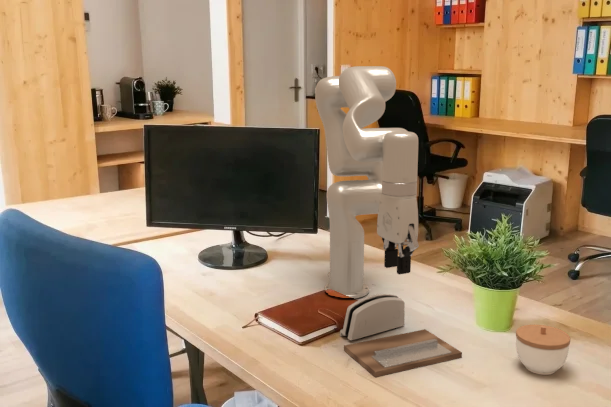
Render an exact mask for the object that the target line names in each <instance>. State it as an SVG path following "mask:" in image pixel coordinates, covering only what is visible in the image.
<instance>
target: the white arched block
mask: <svg viewBox="0 0 611 407" xmlns="http://www.w3.org/2000/svg"><path fill="white" fill-rule="evenodd" d="M405 309H406V308H405V301H404V300H403V299H402V298H400V297H398V296H397V295H394V294H391V293H377V294H372V295H368V296H364V297H362V298H360V299H359V300H357V301H354V302H353V303H351V304H350V305H348V306H347V309H346V313H345V317H344V321H343V322H344V323H343V326H342V327H343V328H341V329H340V331H339V337H346V336H347V339H348V340H350V341H354V340H359V339H361V338H364V337H369V336H372V335H375V334H379V333H383V332H385V331H390V330H392V329H393V330H394V329H395V328H396V329H397V328H401V327H404V326H405Z"/></svg>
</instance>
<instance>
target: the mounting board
mask: <svg viewBox="0 0 611 407" xmlns="http://www.w3.org/2000/svg"><path fill="white" fill-rule="evenodd" d="M431 339H436V340H438V344H440V345H441V346H443V347H445V348H446V349H448V350H449V351H451V354H447V355H443V356H439V357H434V358H430V359H425V360H421V361H416V362H412V363H407V364H403V365H398V366H394V367H390V368H383V367H382V366H381V365H380V364H378V363H377V362H376V361H375V360H373V359H372V358H371V356H374V351H379V350H384V349H389V348H393V347H398V346H403V345H408V344H412V343H417V342H422V341H427V340H431ZM343 351H344V352H345V353H347V355H349V356H350V357H351V358H352V359H354V360H355V361H356V362H357V363H358V364H359V365H360V366H361V367H363V369H365V370H366V371H367V372H368V373H370V374H371V376H373V377H374V378H378V377H383V376H387V375H392V374H395V373H401V372H404V371H409V370H413V369H418V368H421V367H426V366H430V365H436V364H439V363H445V362H449V361H452V360H457V359H462V356H463V352H462V351H460V350H459V349H457V348H456V347H454V346H452V345H451V344H449V343H448V342H446V341H444V340H443V339H441V338H439V336H436V335H435V334H433V333H432V332H430V331H429V330H427V329H425V328H424V329H419V330H415V331H409V332H405V333H400V334H394V335H389V336H385V337H380V338H376V339H375V338H374V339H370V340H365V341H360V342H354V343H349V344H346V345H343Z"/></svg>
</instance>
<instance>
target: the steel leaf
mask: <svg viewBox="0 0 611 407" xmlns="http://www.w3.org/2000/svg"><path fill="white" fill-rule="evenodd" d="M447 354H451V351H449V350H448V349H446V348H445V347H443V346H441V345H440V344H438V340H436V339H431V340H427V341H422V342H417V343H412V344H408V345H403V346H398V347H393V348H389V349H384V350H379V351H374V356H371V358H372V359H373V360H375V361H376V362H377V363H378V364H380V365H381V366H382V367H383V368H390V367H394V366H398V365H403V364H407V363H412V362H416V361H421V360H425V359H430V358H434V357H439V356H443V355H447Z"/></svg>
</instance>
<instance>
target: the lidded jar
mask: <svg viewBox="0 0 611 407" xmlns="http://www.w3.org/2000/svg"><path fill="white" fill-rule="evenodd" d="M515 338H516V339H515V348H516V354H517V357H518V358H519V362H521V363H522V365H523V366H524V367H525V369H526V370H527V371H528V372H530V373H532V374H535V375H542V376H550V375H553V374H555V373H556V372H557V371H558V370H559V369H561V368H562V367H563V366H564V364H565V363H566V361H567V358H568V355H569V351H570V344H571V337H570V335H569V334H568V333H566V331H564V330H562V329H559V328H556V327H554V326H549V325H545V324H525V325H522V326H519V327H518V328H516V330H515Z"/></svg>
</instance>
